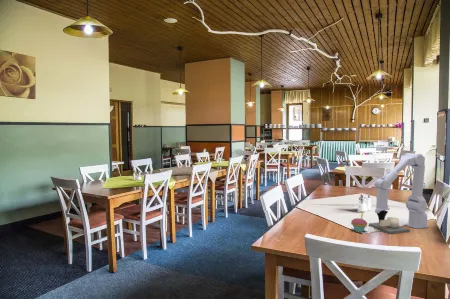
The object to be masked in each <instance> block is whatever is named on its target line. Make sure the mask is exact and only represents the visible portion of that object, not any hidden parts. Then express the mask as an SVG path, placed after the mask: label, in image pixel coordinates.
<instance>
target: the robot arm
mask: <svg viewBox="0 0 450 299" xmlns="http://www.w3.org/2000/svg"><path fill="white" fill-rule="evenodd" d="M425 161H426V157H425V156H424V155H423V154H422V153H412V152H411V153H410V152H405V153H404V154H403V155H402V156H401V160H400V161H399V162H398V163H397V164H396V165H395V166H394V167H393V169H389V170H387V171H386V173H384V175H383V176H381V178H378V179H377V180H375V183H374V186H375V190H376V201H375V202H376V207H375V209H374V213H375V214H376V215H377V217H378V222H379V223H380V220H386V219H385V218H386V216H387V215H388V213H389V210H390V207H389V205H388V198H389V196H388V194H389V189H390V188H391V186H392V184H393V182H394V181H395V180H396V179H397V178H398V177H399V174H400V173H401V172H402V171H403V170H404V169H406V167H409V166H410V167H411V168H412V169H413V175H412V176H413V177H412V186H411V194H410V195H409V196H408V197H407V201H406V203H405V206H406V208H407V210H408V223H405V224H404V226H407V227H410V228H414V229H423V228H429V226H428V214H427V213H426V211H427V209H428V208H427V207H428V205H427V200H426V199H425V197H424V196H423V192H424V191H423V190H424V181H425V172H426V171H425V170H426V165H425V163H426V162H425Z"/></svg>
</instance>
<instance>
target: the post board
mask: <svg viewBox="0 0 450 299" xmlns="http://www.w3.org/2000/svg"><path fill="white" fill-rule="evenodd" d="M368 226H369V227H370V226H371V227H370V228H373V229H375V228H376V230H377V231H381V232H383V233H385V234H388V235H394V234H403V233H410V232H411V231H410V229H409V228H407V227H404V226H401V225H399V226H397V227H394V226H380V223H379V221H378V222H369V223H368Z"/></svg>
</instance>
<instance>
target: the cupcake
mask: <svg viewBox="0 0 450 299" xmlns="http://www.w3.org/2000/svg"><path fill="white" fill-rule="evenodd" d="M363 214H364V211H362V212H361V214H360V216H361V217H360V218H359V217H357V218H353V219H351V222H350V224H351V226H353V230H354V232H358V233H363V232H364V231H365V228H366V227H368V222H367V221H366V220H365V219H363V216H364V215H363Z"/></svg>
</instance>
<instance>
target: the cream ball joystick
mask: <svg viewBox="0 0 450 299" xmlns="http://www.w3.org/2000/svg"><path fill="white" fill-rule="evenodd" d="M399 224H400V219H399V218H398V217H394V216H393V217H392V216H391V217H390V216H389V217H387V218H386V219H384V220H380V226H394V227H397V226H400V225H399Z"/></svg>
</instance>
